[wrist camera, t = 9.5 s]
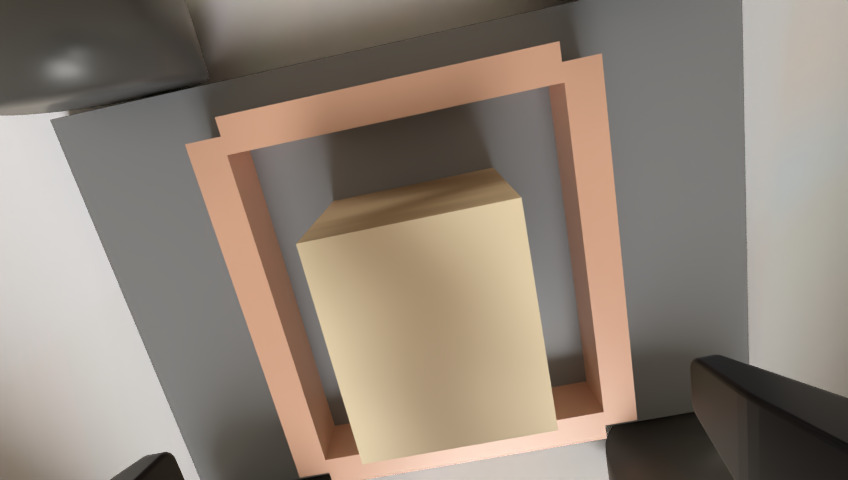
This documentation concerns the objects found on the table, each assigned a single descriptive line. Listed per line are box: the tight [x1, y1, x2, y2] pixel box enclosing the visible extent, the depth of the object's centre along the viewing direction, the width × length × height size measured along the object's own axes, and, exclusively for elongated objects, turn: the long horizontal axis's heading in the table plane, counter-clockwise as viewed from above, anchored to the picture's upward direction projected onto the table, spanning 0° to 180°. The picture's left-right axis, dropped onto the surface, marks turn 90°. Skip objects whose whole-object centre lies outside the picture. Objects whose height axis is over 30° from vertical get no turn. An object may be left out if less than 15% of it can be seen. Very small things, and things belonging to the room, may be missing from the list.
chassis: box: [0, 0, 749, 480], centre depth 14 cm, size 20×19×5 cm
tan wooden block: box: [296, 168, 558, 464], centre depth 13 cm, size 5×6×4 cm
